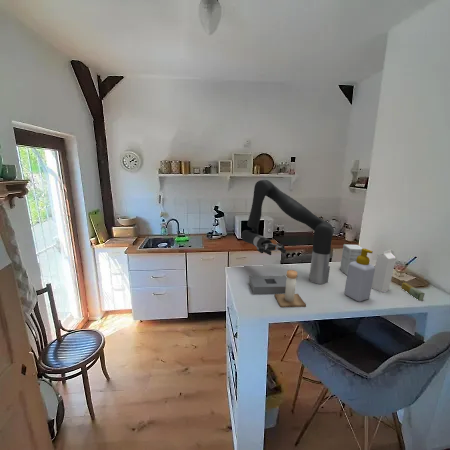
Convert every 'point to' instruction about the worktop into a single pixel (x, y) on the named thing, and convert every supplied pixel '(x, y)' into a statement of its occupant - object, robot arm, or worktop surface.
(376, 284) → the milk
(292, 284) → the plug
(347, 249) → the supplement box
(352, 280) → the soap bottle
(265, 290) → the grey base plate
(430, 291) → the worktop surface
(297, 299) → the pad
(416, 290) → the medication box
